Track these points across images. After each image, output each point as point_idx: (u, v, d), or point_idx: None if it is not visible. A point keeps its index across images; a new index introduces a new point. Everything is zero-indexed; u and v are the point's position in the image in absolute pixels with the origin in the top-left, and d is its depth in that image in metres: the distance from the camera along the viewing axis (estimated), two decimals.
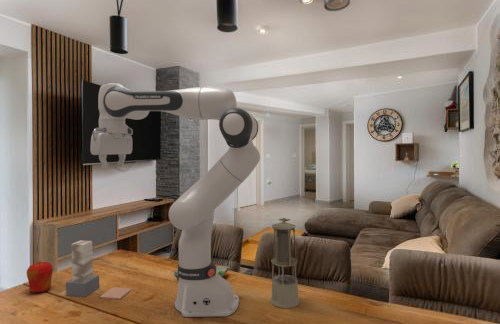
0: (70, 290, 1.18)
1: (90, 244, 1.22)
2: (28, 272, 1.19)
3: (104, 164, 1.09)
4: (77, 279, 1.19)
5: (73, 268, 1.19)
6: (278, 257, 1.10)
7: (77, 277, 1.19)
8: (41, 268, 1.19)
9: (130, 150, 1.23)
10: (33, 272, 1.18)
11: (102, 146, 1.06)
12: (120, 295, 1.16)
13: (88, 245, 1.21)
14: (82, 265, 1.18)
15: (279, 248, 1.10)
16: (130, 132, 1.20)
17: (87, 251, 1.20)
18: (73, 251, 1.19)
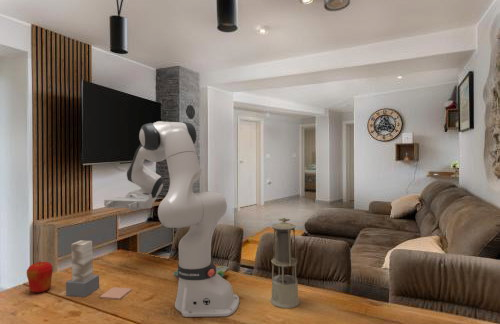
0: (70, 290, 1.18)
1: (90, 244, 1.22)
2: (28, 272, 1.19)
3: None
4: (77, 279, 1.19)
5: (73, 268, 1.19)
6: (278, 257, 1.10)
7: (77, 277, 1.19)
8: (41, 268, 1.19)
9: (143, 199, 1.38)
10: (33, 272, 1.18)
11: (109, 198, 1.42)
12: (120, 295, 1.16)
13: (88, 245, 1.21)
14: (82, 265, 1.18)
15: (279, 248, 1.10)
16: (146, 194, 1.45)
17: (87, 251, 1.20)
18: (73, 251, 1.19)
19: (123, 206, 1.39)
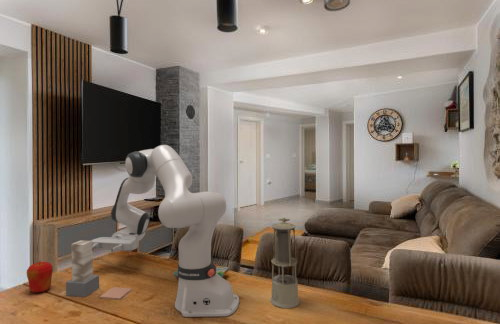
0: (70, 290, 1.18)
1: (90, 244, 1.22)
2: (28, 272, 1.19)
3: None
4: (77, 279, 1.19)
5: (73, 268, 1.19)
6: (278, 257, 1.10)
7: (77, 277, 1.19)
8: (41, 268, 1.19)
9: (128, 241, 1.37)
10: (33, 272, 1.18)
11: (95, 239, 1.41)
12: (120, 295, 1.16)
13: (88, 245, 1.21)
14: (82, 265, 1.18)
15: (279, 248, 1.10)
16: (132, 234, 1.44)
17: (87, 251, 1.20)
18: (73, 251, 1.19)
19: (108, 248, 1.38)
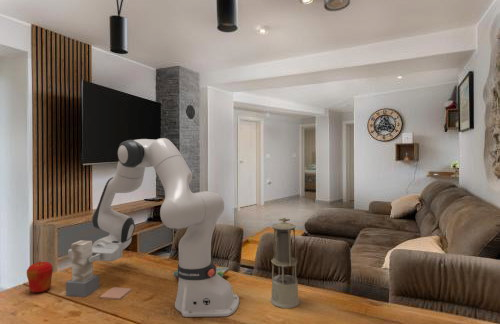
0: (70, 290, 1.18)
1: (90, 244, 1.22)
2: (28, 272, 1.19)
3: None
4: (77, 279, 1.19)
5: (73, 268, 1.19)
6: (278, 257, 1.10)
7: (77, 277, 1.19)
8: (41, 268, 1.19)
9: (110, 251, 1.24)
10: (33, 272, 1.18)
11: None
12: (120, 295, 1.16)
13: (88, 245, 1.21)
14: (82, 265, 1.18)
15: (279, 248, 1.10)
16: (116, 242, 1.31)
17: (87, 251, 1.20)
18: (73, 251, 1.19)
19: None
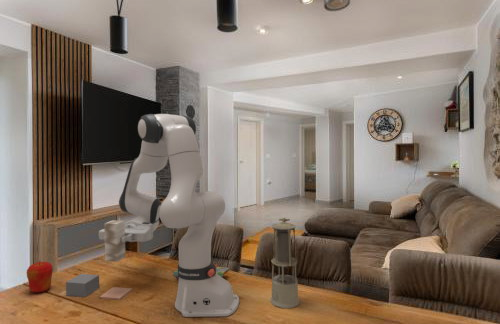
0: (70, 290, 1.18)
1: (123, 224, 1.19)
2: (28, 272, 1.19)
3: None
4: (110, 259, 1.16)
5: (106, 248, 1.16)
6: (278, 257, 1.10)
7: (110, 257, 1.16)
8: (41, 268, 1.19)
9: (142, 231, 1.21)
10: (33, 272, 1.18)
11: None
12: (120, 295, 1.16)
13: (121, 225, 1.18)
14: (115, 245, 1.15)
15: (279, 248, 1.10)
16: (146, 223, 1.29)
17: (120, 231, 1.17)
18: (106, 230, 1.16)
19: None
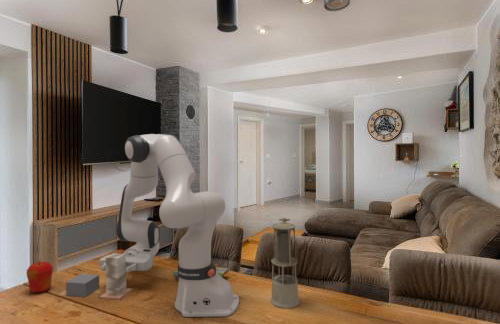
0: (70, 290, 1.18)
1: (124, 257, 1.19)
2: (28, 272, 1.19)
3: None
4: (111, 293, 1.16)
5: (107, 282, 1.17)
6: (278, 257, 1.10)
7: (111, 291, 1.16)
8: (41, 268, 1.19)
9: (143, 260, 1.22)
10: (33, 272, 1.18)
11: None
12: (120, 295, 1.16)
13: (122, 258, 1.18)
14: (116, 279, 1.16)
15: (279, 248, 1.10)
16: (147, 251, 1.29)
17: (121, 265, 1.18)
18: (107, 265, 1.16)
19: None
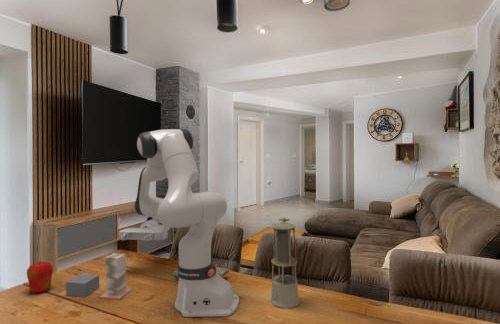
0: (70, 290, 1.18)
1: (124, 257, 1.19)
2: (28, 272, 1.19)
3: None
4: (111, 293, 1.16)
5: (107, 282, 1.17)
6: (278, 257, 1.10)
7: (111, 291, 1.16)
8: (41, 268, 1.19)
9: (159, 231, 1.34)
10: (33, 271, 1.18)
11: (124, 229, 1.39)
12: (120, 295, 1.16)
13: (122, 258, 1.18)
14: (116, 279, 1.16)
15: (279, 248, 1.10)
16: (161, 224, 1.41)
17: (121, 265, 1.18)
18: (107, 265, 1.16)
19: (138, 238, 1.35)
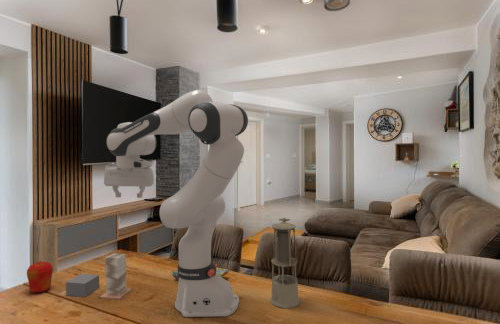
0: (70, 290, 1.18)
1: (124, 257, 1.19)
2: (28, 272, 1.19)
3: None
4: (111, 293, 1.16)
5: (107, 282, 1.17)
6: (278, 257, 1.10)
7: (111, 291, 1.16)
8: (41, 268, 1.19)
9: (145, 183, 1.24)
10: (33, 271, 1.18)
11: (106, 179, 1.27)
12: (120, 295, 1.16)
13: (122, 258, 1.18)
14: (116, 279, 1.16)
15: (279, 248, 1.10)
16: (138, 165, 1.22)
17: (121, 265, 1.18)
18: (107, 265, 1.16)
19: None
